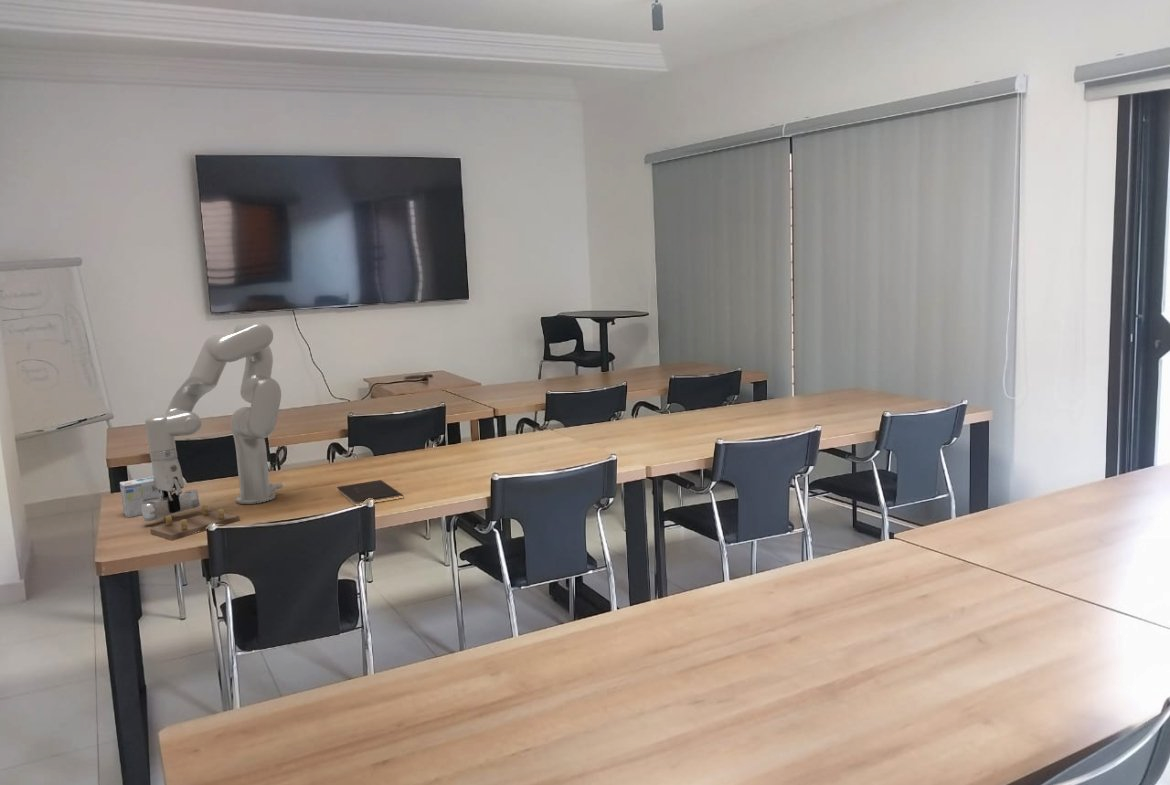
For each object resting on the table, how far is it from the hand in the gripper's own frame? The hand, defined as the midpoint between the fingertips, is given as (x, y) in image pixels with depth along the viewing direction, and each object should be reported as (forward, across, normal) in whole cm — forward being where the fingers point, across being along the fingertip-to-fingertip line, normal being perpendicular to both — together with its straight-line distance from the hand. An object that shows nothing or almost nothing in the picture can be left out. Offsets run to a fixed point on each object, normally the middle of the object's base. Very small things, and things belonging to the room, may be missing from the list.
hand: (172, 510), depth 279 cm
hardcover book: (+5, -35, -50) cm, 61 cm away
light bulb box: (+3, +17, +1) cm, 17 cm away
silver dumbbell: (+1, 0, 0) cm, 1 cm away
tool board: (+3, -15, +1) cm, 15 cm away
